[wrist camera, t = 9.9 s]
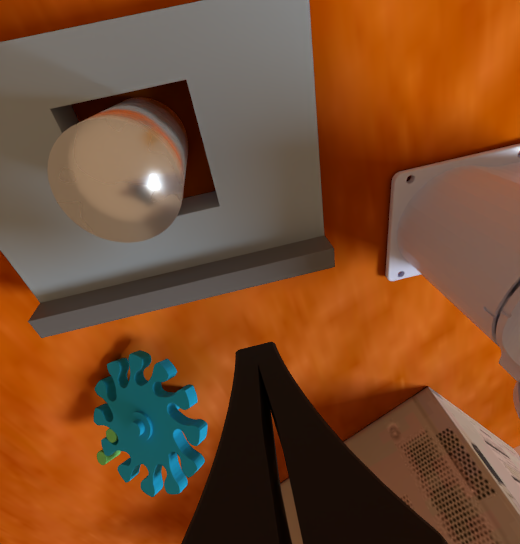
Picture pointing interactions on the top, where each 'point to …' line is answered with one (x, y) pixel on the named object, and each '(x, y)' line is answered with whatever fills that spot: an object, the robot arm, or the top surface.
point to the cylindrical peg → (122, 170)
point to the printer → (439, 471)
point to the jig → (217, 142)
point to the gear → (149, 424)
